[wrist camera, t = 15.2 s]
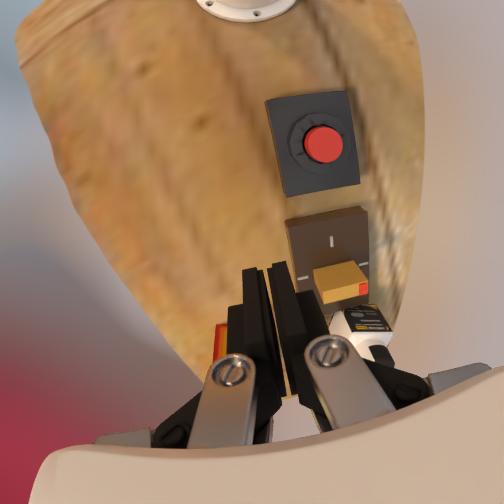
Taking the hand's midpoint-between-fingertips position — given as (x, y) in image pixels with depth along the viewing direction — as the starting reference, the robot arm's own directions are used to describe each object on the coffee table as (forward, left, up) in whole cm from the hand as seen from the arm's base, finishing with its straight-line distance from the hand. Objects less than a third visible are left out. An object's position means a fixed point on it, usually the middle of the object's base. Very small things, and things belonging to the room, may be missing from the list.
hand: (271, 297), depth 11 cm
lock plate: (+13, +8, -23) cm, 28 cm away
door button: (-3, +8, -20) cm, 21 cm away
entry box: (-3, +8, -23) cm, 25 cm away
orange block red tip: (+13, +8, -21) cm, 26 cm away
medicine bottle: (+25, +11, -23) cm, 36 cm away
